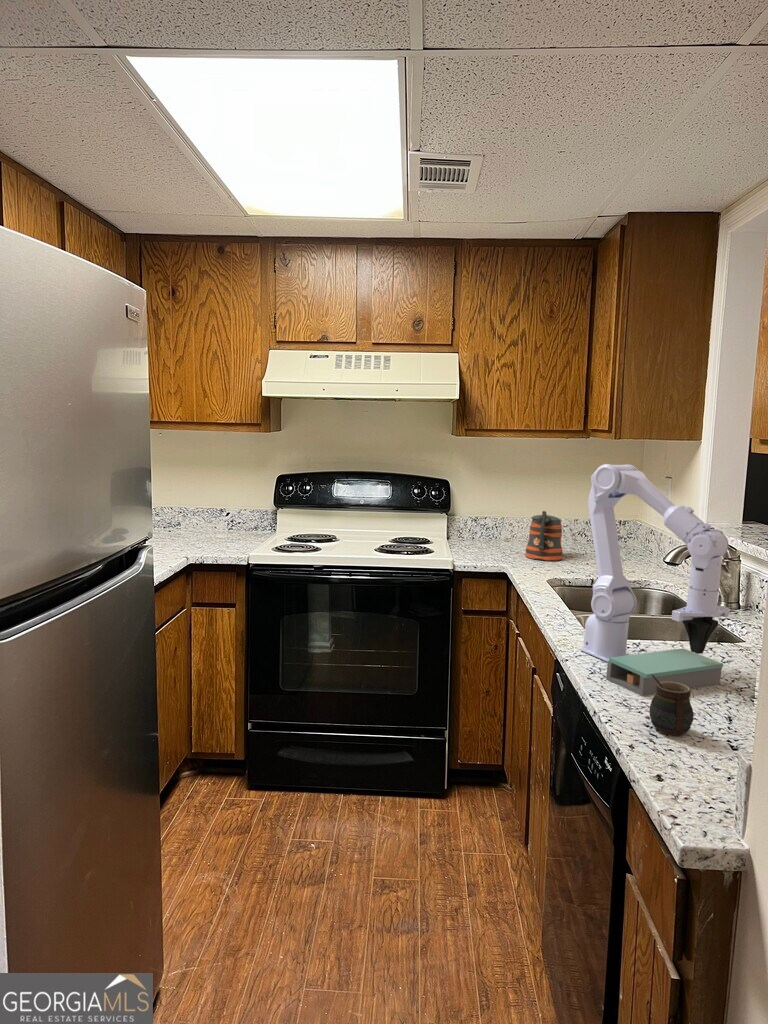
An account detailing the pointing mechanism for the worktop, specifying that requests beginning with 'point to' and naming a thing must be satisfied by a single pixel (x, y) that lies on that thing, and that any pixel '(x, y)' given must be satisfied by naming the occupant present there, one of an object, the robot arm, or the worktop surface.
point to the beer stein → (545, 538)
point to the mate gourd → (671, 708)
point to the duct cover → (665, 663)
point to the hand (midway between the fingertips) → (696, 652)
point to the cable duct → (660, 679)
